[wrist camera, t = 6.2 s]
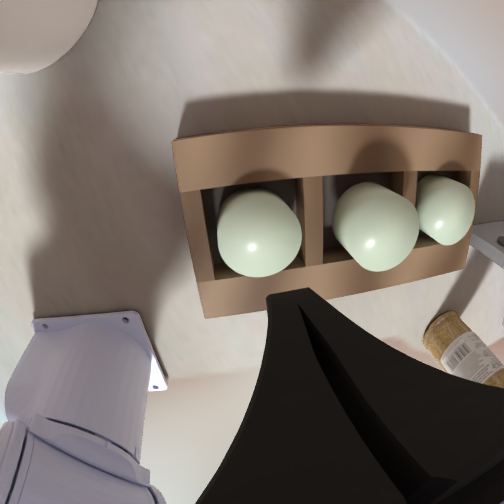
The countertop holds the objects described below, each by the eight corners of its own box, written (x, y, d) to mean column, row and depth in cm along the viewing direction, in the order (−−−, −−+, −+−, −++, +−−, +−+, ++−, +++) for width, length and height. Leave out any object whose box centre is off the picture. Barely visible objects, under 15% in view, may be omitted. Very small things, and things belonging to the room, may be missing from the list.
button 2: (221, 259, 17) (224, 282, 15) (211, 191, 15) (212, 205, 13) (291, 250, 18) (302, 270, 15) (287, 182, 16) (300, 194, 14)
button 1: (406, 233, 18) (427, 249, 16) (411, 174, 16) (435, 184, 14) (447, 227, 18) (469, 241, 16) (453, 173, 17) (478, 183, 14)
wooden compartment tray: (204, 299, 19) (205, 318, 17) (176, 138, 15) (171, 141, 13) (449, 256, 20) (463, 268, 19) (462, 130, 16) (481, 135, 14)
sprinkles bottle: (428, 353, 25) (495, 450, 13) (416, 333, 24) (494, 445, 12) (461, 323, 24) (535, 413, 12) (452, 300, 23) (541, 400, 11)
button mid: (331, 255, 16) (348, 277, 14) (331, 184, 15) (352, 198, 12) (391, 245, 17) (413, 264, 15) (396, 180, 15) (423, 192, 13)
